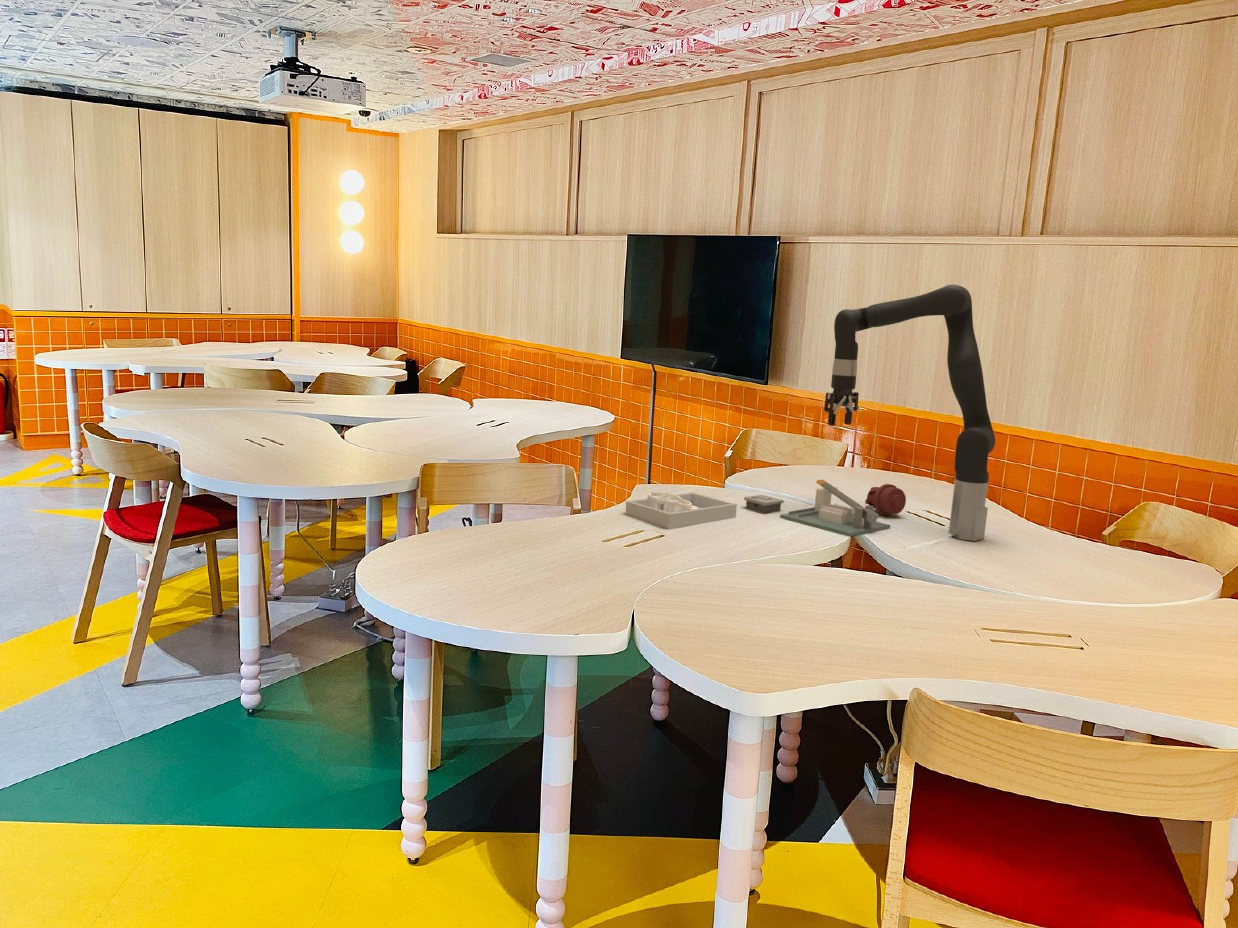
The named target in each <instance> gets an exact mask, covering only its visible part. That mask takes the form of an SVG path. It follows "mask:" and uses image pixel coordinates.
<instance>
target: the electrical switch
mask: <svg viewBox="0 0 1238 928" xmlns="http://www.w3.org/2000/svg"><path fill="white" fill-rule="evenodd" d="M743 499H744V501H746V503H745V504H746V505H745V506H746V509H748V510H751V511H755V512H758V513H761V514H769V513H775V512H780V511H781V506H782V504H784V499H781V498H777V497H772V496H770V495H769V496H768V495H765V494H756V495H747V496H744V498H743Z"/></svg>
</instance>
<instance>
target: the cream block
mask: <svg viewBox="0 0 1238 928" xmlns="http://www.w3.org/2000/svg"><path fill="white" fill-rule="evenodd" d="M832 486H833V487H835V488H836V489H838V487H837V486H834V485H832ZM815 492H816V493H815V504H814V507H815V511H819V510H820V509H821V506H825V505H828V506H829V505H832V504H831V503H832V496H833V494H832V493H830V492H829V491H827V490H826V489H825V488H823V487H818V488H816V490H815Z"/></svg>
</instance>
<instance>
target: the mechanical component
mask: <svg viewBox="0 0 1238 928" xmlns="http://www.w3.org/2000/svg"><path fill="white" fill-rule="evenodd" d="M906 497H907V496H906V494H905V492H904V491H903V490H902V489H901V488H899V487H897V486H896V485H894V484H890V483H884V484H882V485H880V486H871V488H870V490H869V491H868V493H867V496H866V499H865V500H864V503H865V504H866V505H869V506H873V507H874V508H873V509H875V510H876V511H877V512H878V513H879V515H882V516H892V515H898V514H899V513H901V512H903V510H904V508H905V507H906V503H907V500H906V499H907V498H906Z"/></svg>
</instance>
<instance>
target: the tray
mask: <svg viewBox="0 0 1238 928" xmlns="http://www.w3.org/2000/svg"><path fill="white" fill-rule="evenodd" d="M676 495H677V496H679V497H680V498H682V499H683V500H686V501H689V502H691V503H692V506H696V507H698V509H694V510H687V511H681V512H673V513H671V512H670V511H666V512H665V511H663V508H664V504H660V503H658V502H657V509H655V508H654V501H652V500H650V499H648V497H647V498H640V499H634V500H627V501H626V502H625V515H628V516H631V517H633V518H637V519H640V520H642V521H644V522H647V523H650V524H653V525H655V526H658V527H662V528H665V529H668V530H671V529H678V528H683V527H684V528H685V527H689V526H696V525H700V524H707V523H714V522H718V521H719V522H720V521H723V520H729V519H730V520H731V519H734V518H735V519H736V517H737V508H738V507H737V505H738V504H737V503H734V502H731V501H730V502H729V501H726V500H723V499H719V498H714V497H711V496H708V495H707V496H706V495H703V494H699V493H697V492H686V493H679V494H676ZM654 497H655V498H670V497H667V496H654ZM682 504H683V503H682ZM684 505H686V504H684Z"/></svg>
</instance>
